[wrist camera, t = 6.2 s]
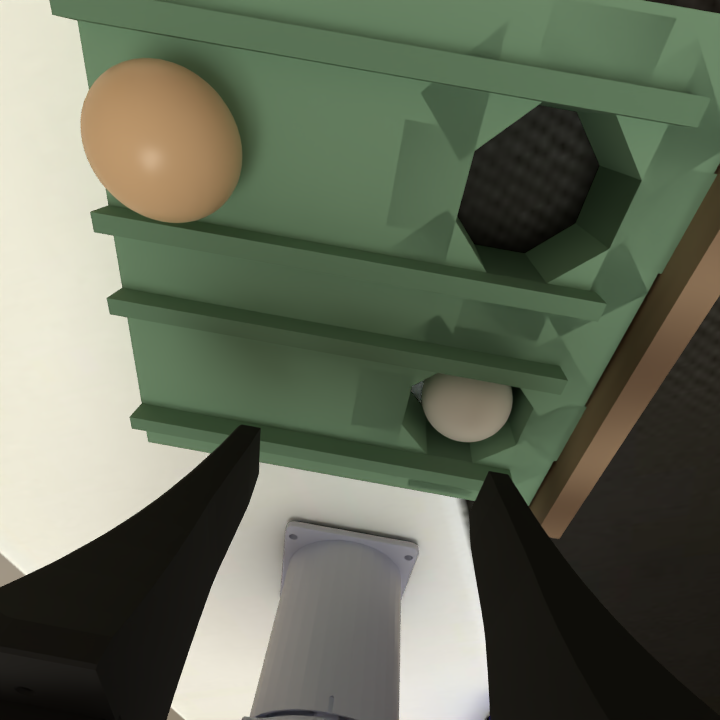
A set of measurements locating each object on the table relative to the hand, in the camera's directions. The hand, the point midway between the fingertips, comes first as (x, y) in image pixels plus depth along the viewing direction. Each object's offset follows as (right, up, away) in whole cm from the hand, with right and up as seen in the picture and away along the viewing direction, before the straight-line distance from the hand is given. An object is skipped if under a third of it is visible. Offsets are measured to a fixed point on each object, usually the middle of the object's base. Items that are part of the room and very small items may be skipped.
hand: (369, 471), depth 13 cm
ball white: (+4, +2, +4) cm, 6 cm away
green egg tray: (0, +7, +3) cm, 8 cm away
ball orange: (-5, +9, -3) cm, 11 cm away
